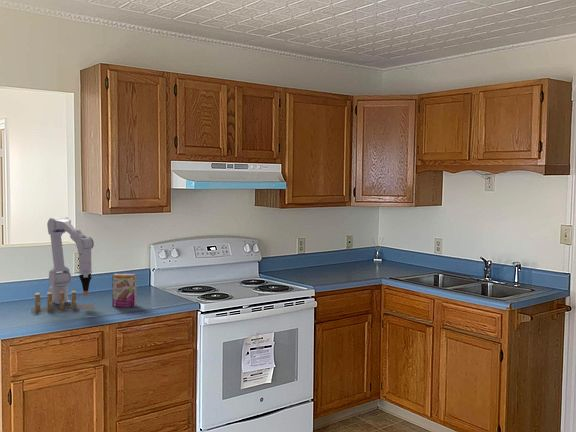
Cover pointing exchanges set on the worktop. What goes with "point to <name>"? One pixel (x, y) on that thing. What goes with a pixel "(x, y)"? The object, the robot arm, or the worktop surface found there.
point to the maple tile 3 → (61, 300)
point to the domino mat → (66, 308)
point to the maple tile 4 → (73, 299)
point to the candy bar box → (124, 290)
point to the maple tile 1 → (37, 301)
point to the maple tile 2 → (49, 300)
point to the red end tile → (85, 293)
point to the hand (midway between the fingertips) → (85, 289)
